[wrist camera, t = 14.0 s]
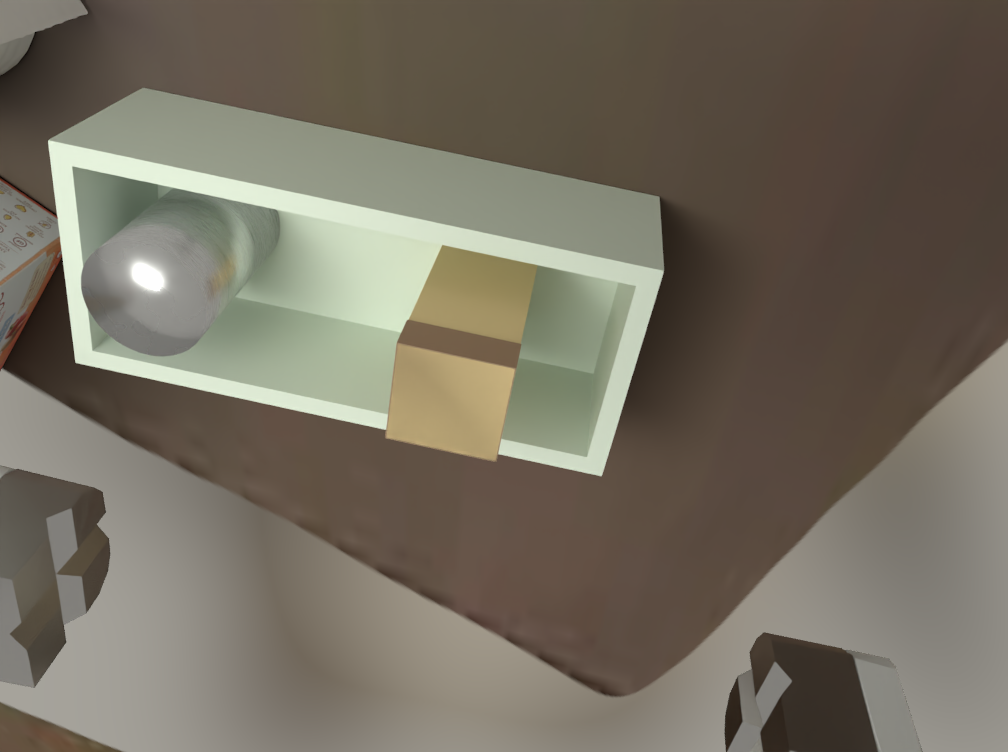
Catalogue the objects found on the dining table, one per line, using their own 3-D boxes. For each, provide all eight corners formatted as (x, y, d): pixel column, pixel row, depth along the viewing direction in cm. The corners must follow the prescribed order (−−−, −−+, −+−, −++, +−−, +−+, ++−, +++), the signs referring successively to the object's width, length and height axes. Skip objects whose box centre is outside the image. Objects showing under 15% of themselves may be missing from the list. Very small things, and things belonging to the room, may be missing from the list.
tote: (143, 87, 46) (47, 140, 39) (659, 196, 46) (664, 271, 38) (154, 285, 53) (75, 362, 45) (606, 381, 53) (601, 476, 45)
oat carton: (451, 221, 47) (396, 342, 36) (543, 241, 47) (516, 368, 36) (439, 303, 50) (385, 438, 39) (526, 321, 50) (496, 462, 39)
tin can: (173, 155, 47) (74, 228, 39) (282, 178, 47) (205, 256, 39) (177, 254, 50) (87, 341, 42) (279, 276, 50) (208, 367, 42)
